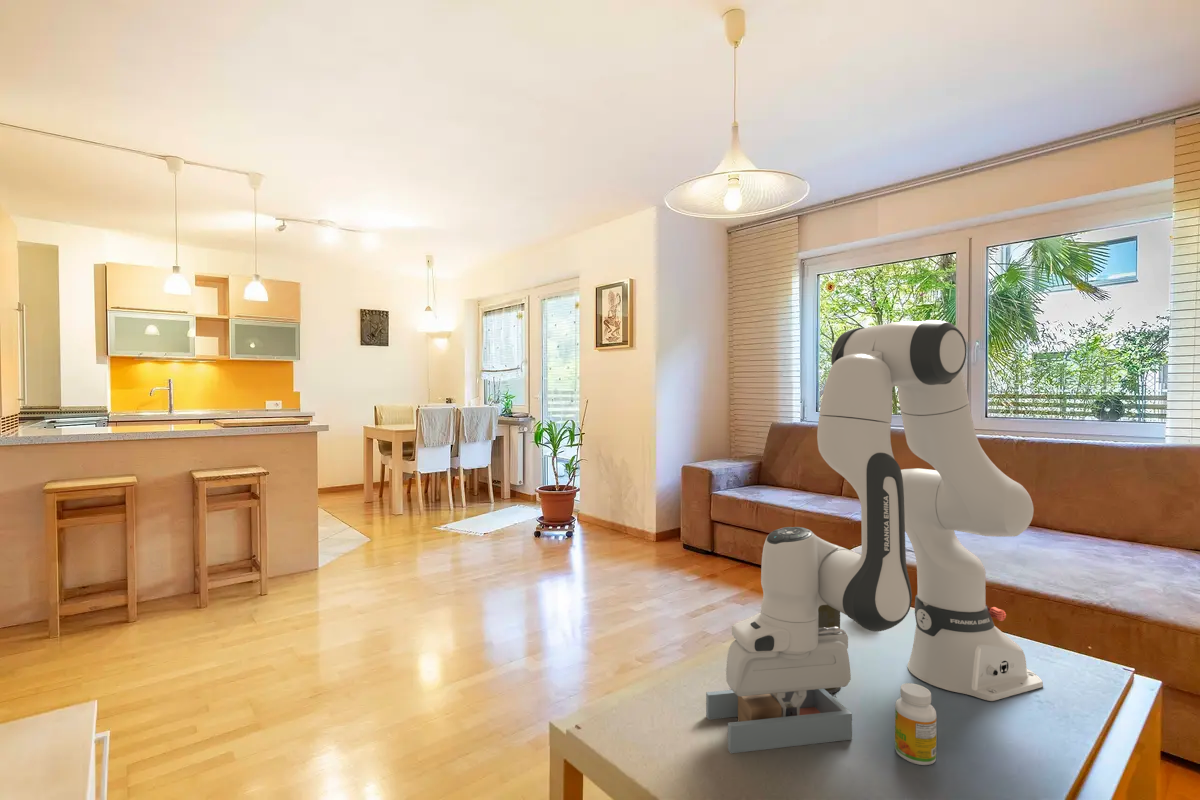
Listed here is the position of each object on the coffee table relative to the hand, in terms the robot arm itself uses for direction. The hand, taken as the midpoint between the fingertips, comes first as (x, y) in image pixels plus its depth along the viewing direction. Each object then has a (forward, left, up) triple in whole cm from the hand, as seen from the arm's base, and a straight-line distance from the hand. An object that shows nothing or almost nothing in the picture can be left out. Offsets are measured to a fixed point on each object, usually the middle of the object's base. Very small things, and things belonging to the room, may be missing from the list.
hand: (788, 715), depth 91 cm
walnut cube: (+5, 0, -2) cm, 5 cm away
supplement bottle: (-15, +10, -2) cm, 18 cm away
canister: (-12, -13, -2) cm, 18 cm away
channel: (+2, 0, -2) cm, 3 cm away
